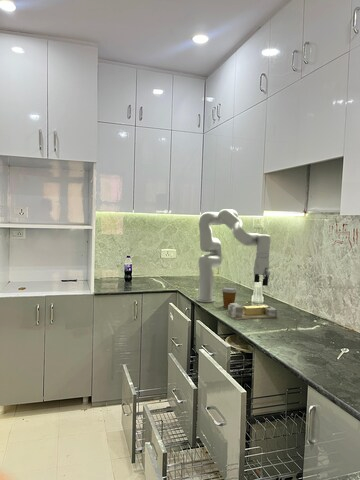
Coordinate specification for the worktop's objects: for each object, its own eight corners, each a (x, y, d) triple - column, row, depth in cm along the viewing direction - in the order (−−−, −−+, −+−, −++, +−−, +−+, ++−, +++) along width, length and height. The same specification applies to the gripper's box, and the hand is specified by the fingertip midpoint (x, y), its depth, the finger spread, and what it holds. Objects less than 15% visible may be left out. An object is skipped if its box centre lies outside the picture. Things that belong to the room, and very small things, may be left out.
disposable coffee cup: (238, 306, 236) (239, 288, 235) (232, 309, 228) (233, 290, 227) (224, 304, 241) (225, 286, 240) (218, 307, 233) (219, 288, 232)
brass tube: (242, 313, 217) (243, 306, 216) (264, 311, 221) (264, 305, 221) (246, 315, 212) (246, 308, 212) (268, 313, 217) (268, 307, 217)
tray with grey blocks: (225, 313, 218) (225, 302, 218) (263, 311, 227) (264, 300, 226) (236, 319, 205) (236, 308, 205) (276, 317, 214) (277, 305, 213)
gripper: (250, 253, 225) (248, 281, 226) (264, 257, 208) (262, 287, 210) (260, 253, 227) (259, 280, 228) (276, 257, 211) (274, 286, 212)
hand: (260, 283), depth 219 cm, fingers open, 9 cm apart
